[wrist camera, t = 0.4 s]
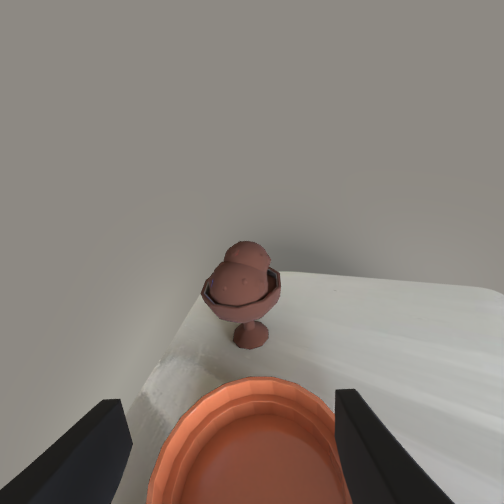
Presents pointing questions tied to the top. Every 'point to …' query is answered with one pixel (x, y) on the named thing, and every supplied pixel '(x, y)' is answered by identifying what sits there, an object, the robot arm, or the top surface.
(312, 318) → the top surface
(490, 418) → the top surface
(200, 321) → the top surface
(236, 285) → the ice cream bowl
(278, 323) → the top surface
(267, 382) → the bowl
